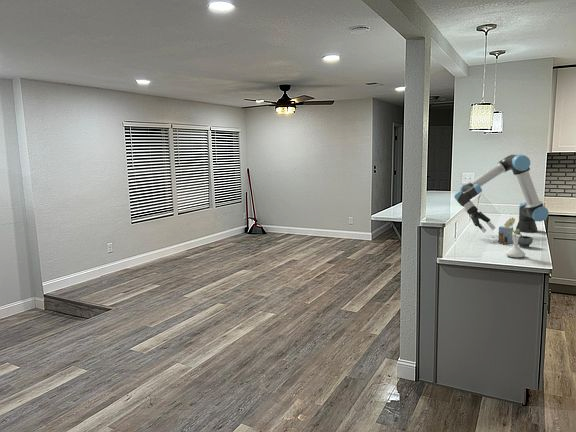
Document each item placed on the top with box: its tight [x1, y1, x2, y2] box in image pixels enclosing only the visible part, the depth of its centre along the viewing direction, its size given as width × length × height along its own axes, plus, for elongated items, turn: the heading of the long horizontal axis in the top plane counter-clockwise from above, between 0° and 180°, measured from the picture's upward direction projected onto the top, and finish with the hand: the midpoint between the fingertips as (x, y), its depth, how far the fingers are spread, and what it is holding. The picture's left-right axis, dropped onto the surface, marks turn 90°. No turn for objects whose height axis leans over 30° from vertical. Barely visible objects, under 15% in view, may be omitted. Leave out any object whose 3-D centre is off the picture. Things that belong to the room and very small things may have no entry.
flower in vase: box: [503, 217, 526, 258], centre depth 272 cm, size 13×11×25 cm
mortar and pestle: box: [514, 229, 534, 249], centre depth 297 cm, size 11×9×12 cm
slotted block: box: [497, 225, 514, 245], centre depth 312 cm, size 4×8×11 cm, turn 39°
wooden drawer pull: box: [498, 232, 508, 245], centre depth 312 cm, size 15×2×8 cm, turn 129°
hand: (489, 230), depth 321 cm, fingers open, 13 cm apart
